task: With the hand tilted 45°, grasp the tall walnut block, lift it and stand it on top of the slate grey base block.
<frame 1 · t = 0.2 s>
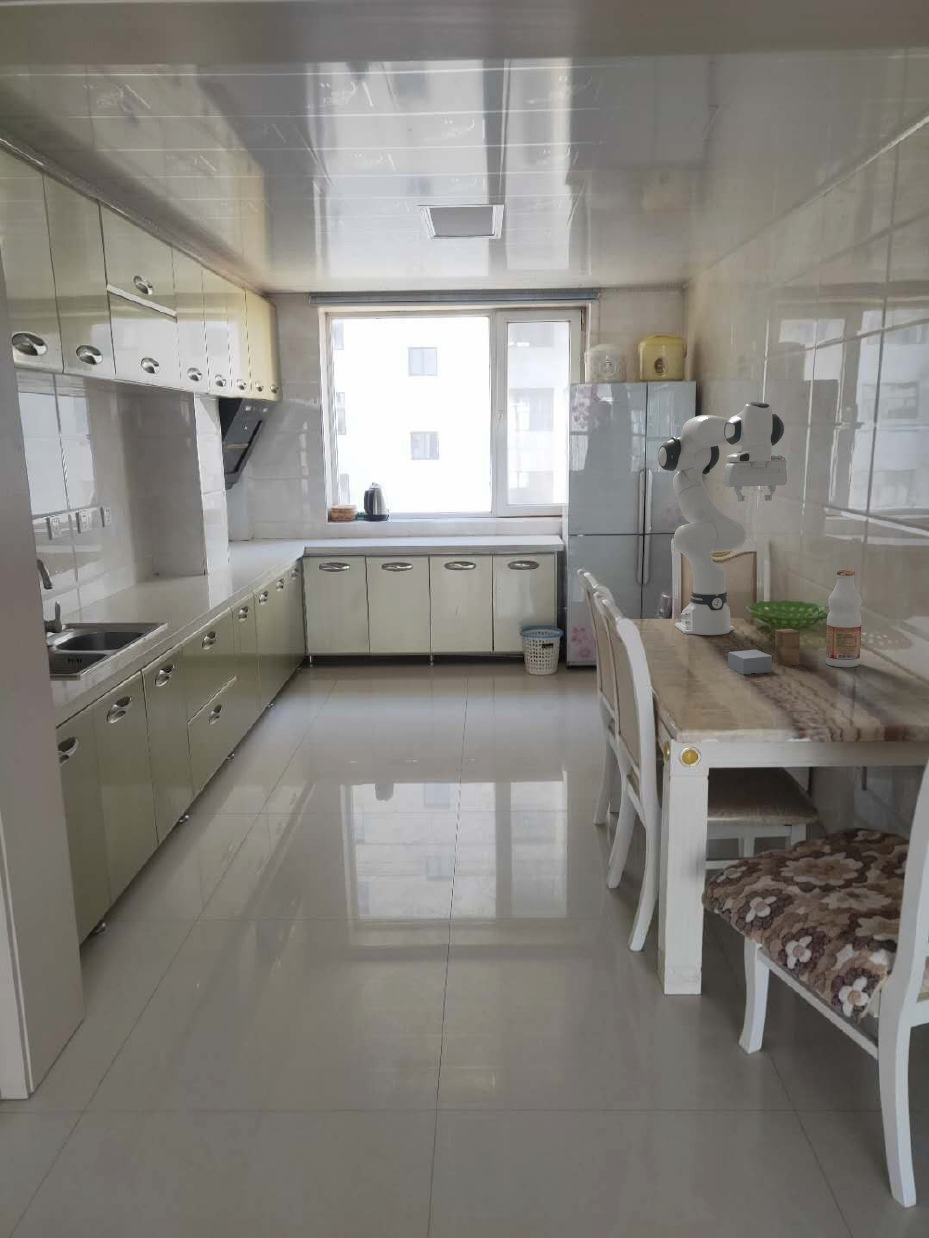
hand: (754, 501, 281), 48 cm above the table, tool pointing down, fingers open, 8 cm apart
fruit juice: (842, 664, 268), on the table
slate grey base block: (749, 670, 267), on the table
walnut block: (786, 663, 272), on the table
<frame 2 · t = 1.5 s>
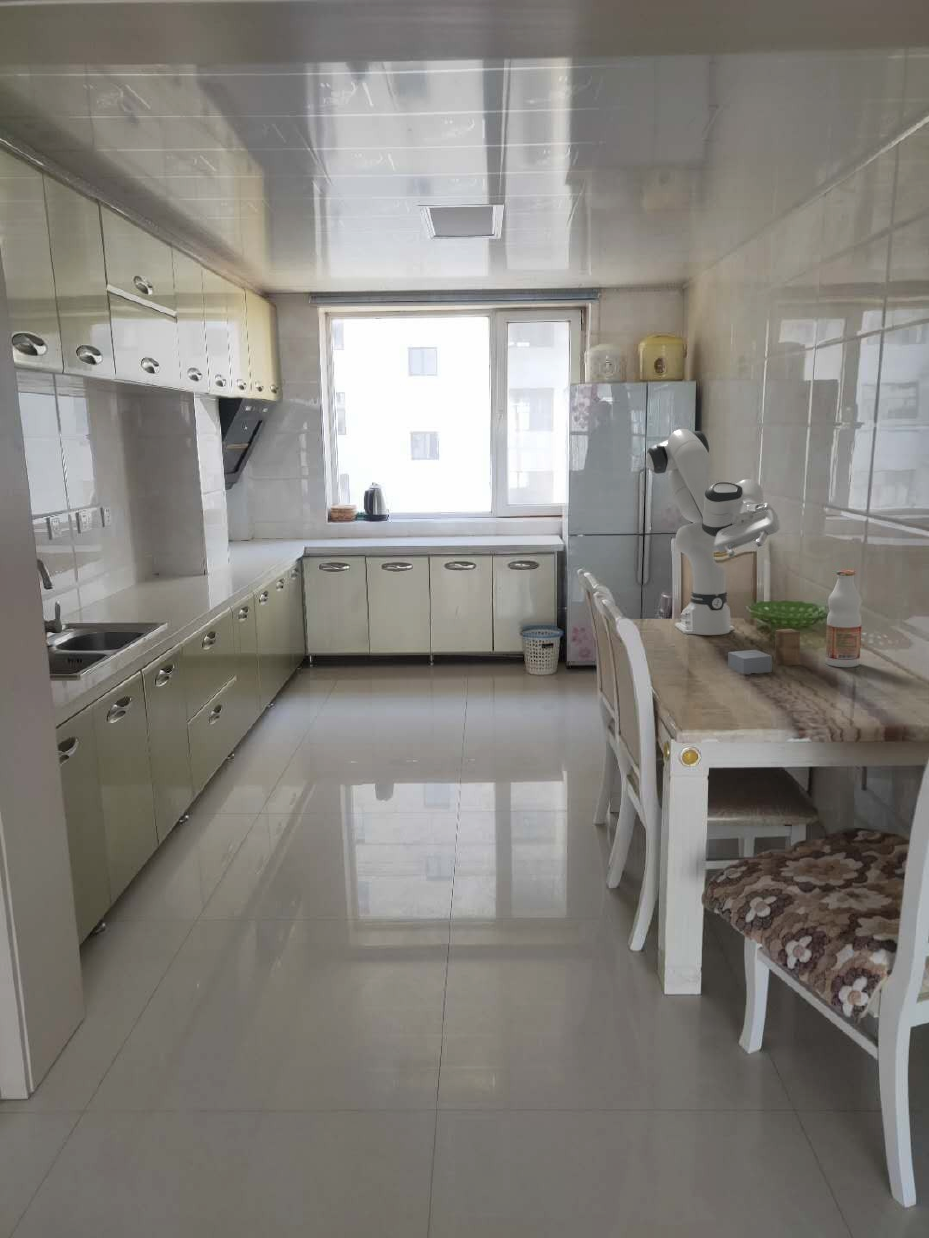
hand: (744, 550, 271), 34 cm above the table, tool tilted 55°, fingers open, 8 cm apart
nothing on the table moved.
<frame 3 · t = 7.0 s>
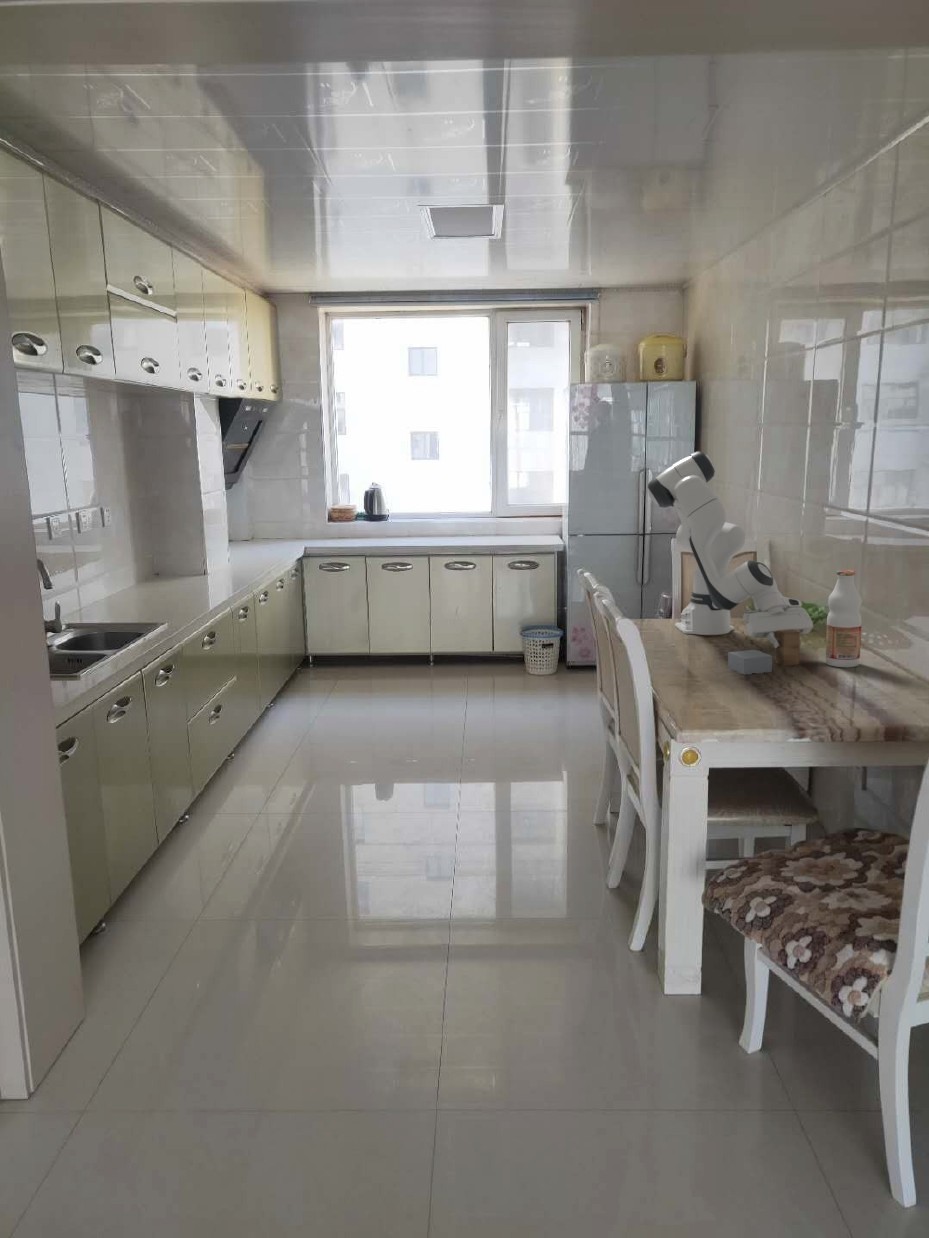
hand: (788, 646, 271), 5 cm above the table, tool tilted 45°, fingers closed on walnut block, 5 cm apart
walnut block: (786, 663, 272), on the table, touching gripper
everything else where it was.
when the fingers open (12 cm above the table, at t = 12.1 s): walnut block drops 2 cm, resting on slate grey base block.
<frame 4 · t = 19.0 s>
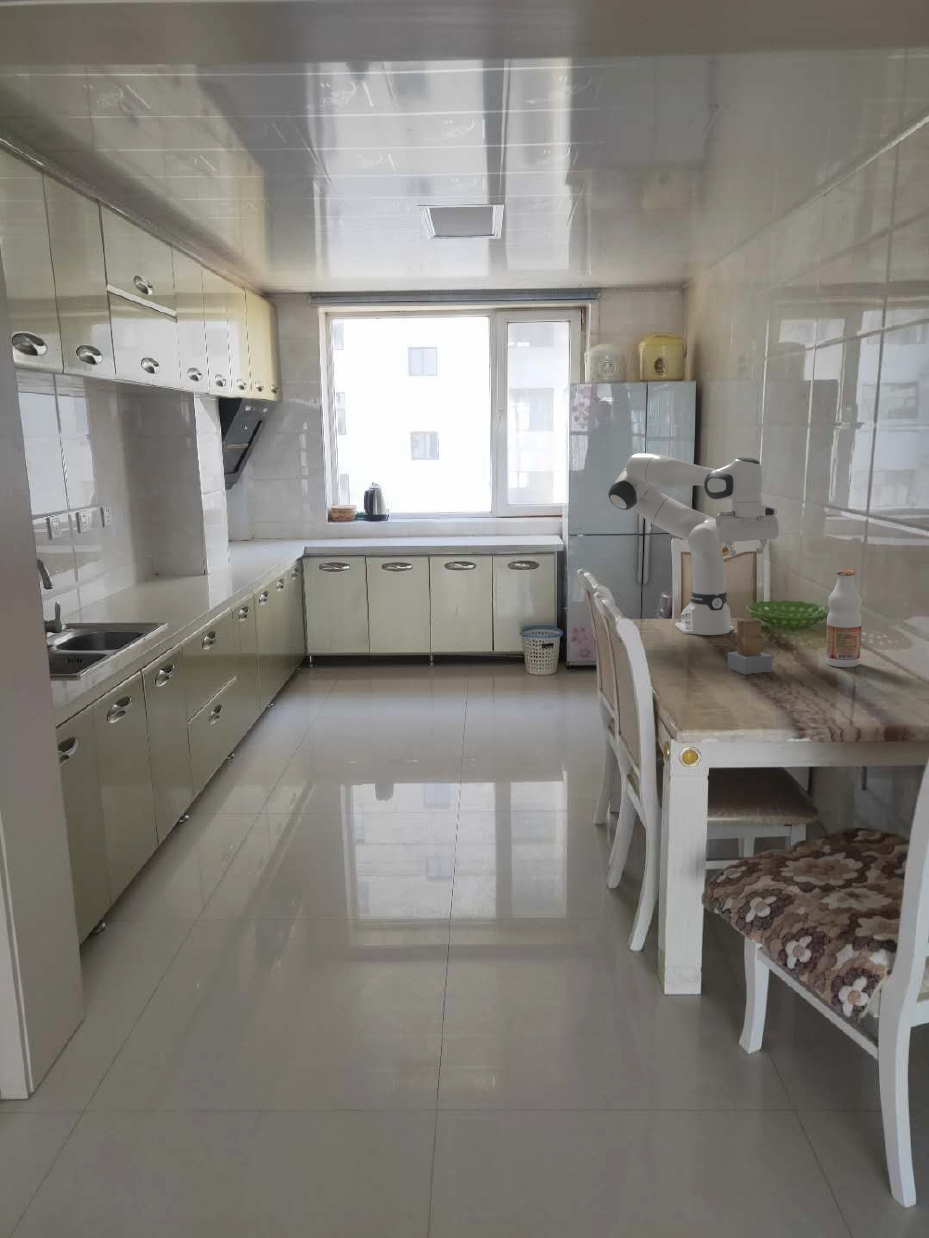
hand: (746, 555, 283), 31 cm above the table, tool pointing down, fingers open, 8 cm apart
slate grey base block: (749, 670, 267), on the table, touching walnut block
walnut block: (748, 653, 266), point 5 cm above the table, touching slate grey base block
everything else where it was.
at the end: walnut block 0.3 cm off-centre on the slate grey base block, point 5.0 cm above the slate grey base block's base; walnut block tilted 0°; the gripper is holding nothing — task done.
